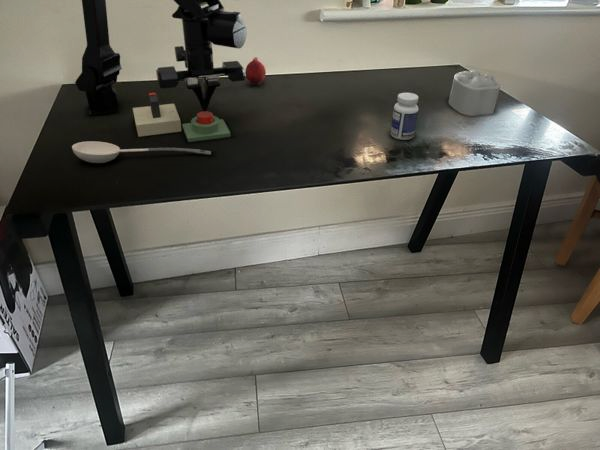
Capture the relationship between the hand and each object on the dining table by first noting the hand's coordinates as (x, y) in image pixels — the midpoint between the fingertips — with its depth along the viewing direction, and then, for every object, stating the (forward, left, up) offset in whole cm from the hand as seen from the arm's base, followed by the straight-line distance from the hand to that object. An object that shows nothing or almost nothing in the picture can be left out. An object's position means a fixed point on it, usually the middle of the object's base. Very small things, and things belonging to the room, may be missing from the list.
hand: (204, 110), depth 113 cm
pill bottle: (+45, -15, -6) cm, 47 cm away
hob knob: (-11, +7, -2) cm, 13 cm away
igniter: (0, 0, -6) cm, 6 cm away
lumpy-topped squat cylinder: (+72, -4, -6) cm, 72 cm away
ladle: (-15, -9, -6) cm, 18 cm away
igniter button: (0, 0, -3) cm, 3 cm away
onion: (+20, +26, -6) cm, 33 cm away
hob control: (-10, +7, -6) cm, 14 cm away
